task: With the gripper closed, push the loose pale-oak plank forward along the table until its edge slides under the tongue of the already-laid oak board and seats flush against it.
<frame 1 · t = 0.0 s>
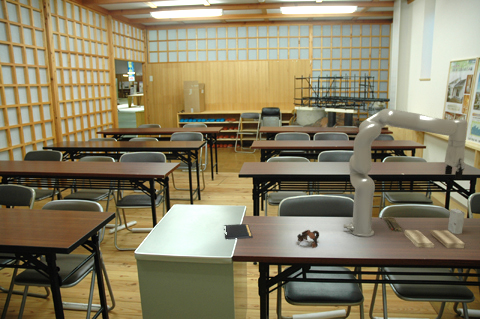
hand: (453, 176, 183), 31 cm above the table, fingers open, 9 cm apart
plank: (419, 238, 180), point 1 cm above the table, slide at 0.0 cm
wallet: (237, 233, 195), on the table
laid board: (447, 241, 179), on the table
skincare box: (454, 232, 190), on the table
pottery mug: (309, 244, 179), on the table
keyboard: (391, 226, 202), on the table
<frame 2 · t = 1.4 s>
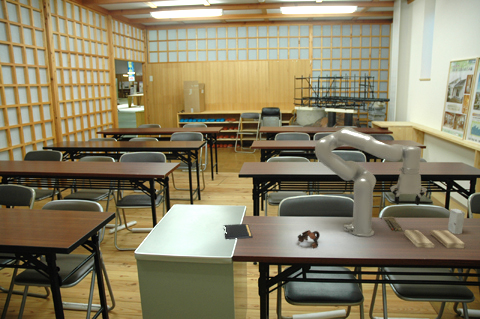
hand: (406, 204, 178), 19 cm above the table, fingers open, 9 cm apart
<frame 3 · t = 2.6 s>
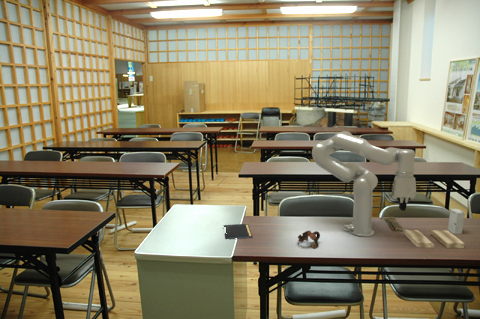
hand: (402, 209, 177), 16 cm above the table, fingers closed
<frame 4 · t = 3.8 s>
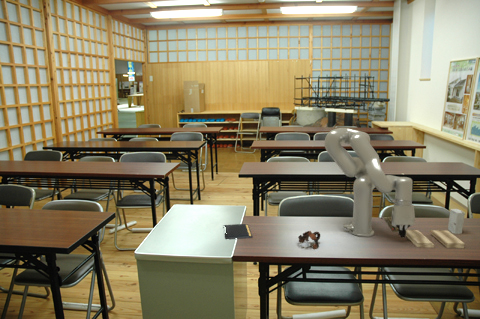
hand: (402, 236, 180), 2 cm above the table, fingers closed
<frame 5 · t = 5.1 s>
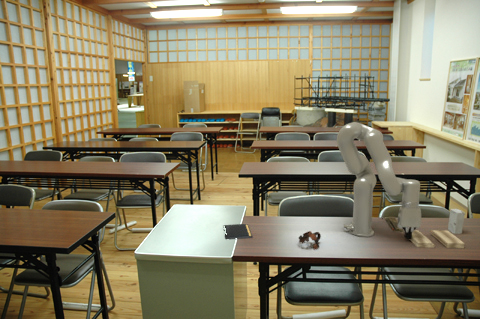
hand: (407, 238, 180), 1 cm above the table, fingers closed
plank: (419, 238, 180), point 1 cm above the table, slide at 0.1 cm, touching gripper
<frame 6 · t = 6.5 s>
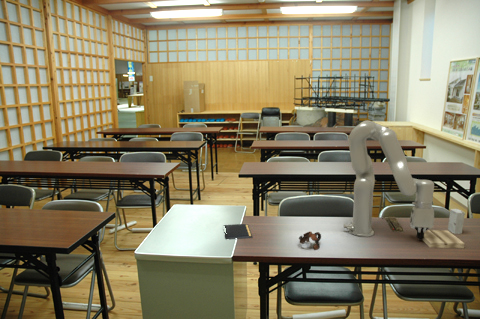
hand: (419, 238, 180), 1 cm above the table, fingers closed
plank: (431, 238, 179), point 1 cm above the table, slide at 6.0 cm, touching gripper, laid board
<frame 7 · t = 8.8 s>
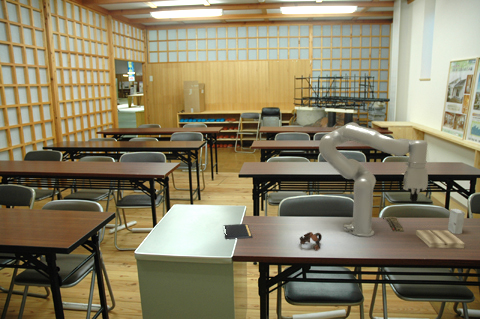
hand: (413, 201, 176), 21 cm above the table, fingers closed
plank: (431, 238, 179), point 1 cm above the table, slide at 6.0 cm, touching laid board
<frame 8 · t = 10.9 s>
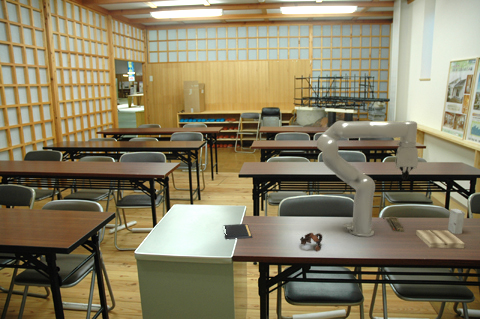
hand: (404, 179, 187), 29 cm above the table, fingers closed
at the end: plank slide at 6.0 cm; plank 8.0 cm from the laid board (horizontally) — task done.
